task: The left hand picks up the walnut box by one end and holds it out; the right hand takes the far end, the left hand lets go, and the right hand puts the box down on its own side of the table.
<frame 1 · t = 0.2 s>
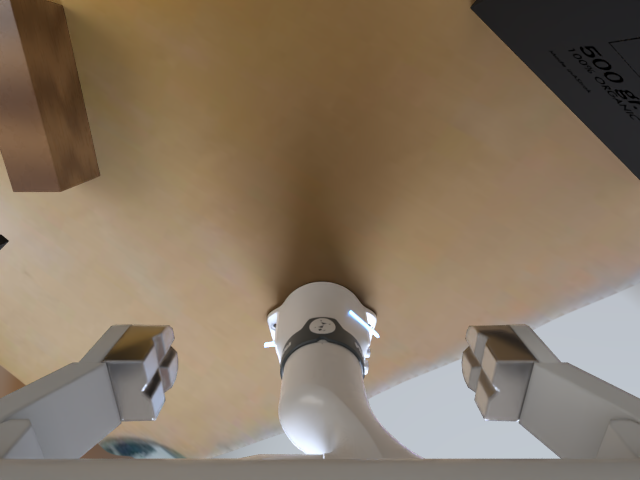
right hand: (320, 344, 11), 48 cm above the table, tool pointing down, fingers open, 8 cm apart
black boxy piece: (625, 39, 50), on the table
box: (61, 97, 53), on the table
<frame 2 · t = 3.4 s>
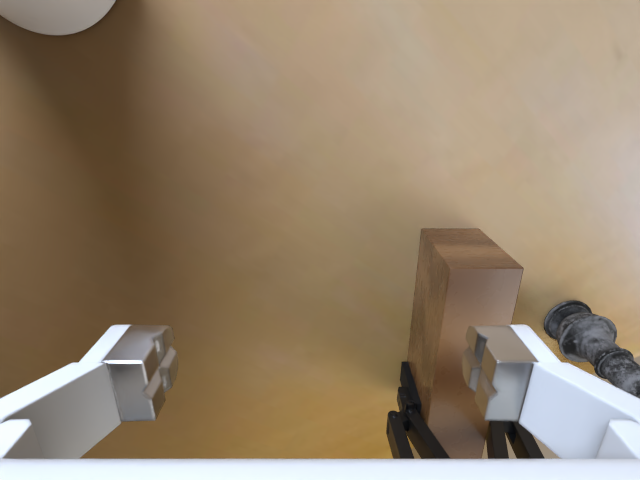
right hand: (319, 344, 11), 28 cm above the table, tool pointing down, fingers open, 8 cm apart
box: (437, 318, 44), on the table, touching left hand
dark grey knobbed piece: (566, 319, 44), on the table
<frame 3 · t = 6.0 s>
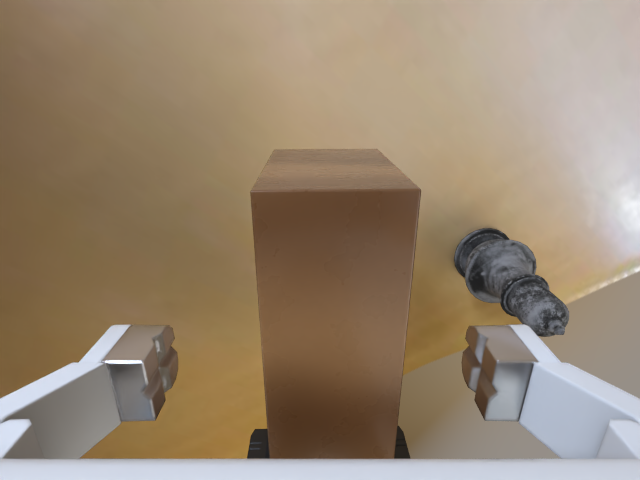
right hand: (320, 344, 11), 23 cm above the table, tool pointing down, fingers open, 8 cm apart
box: (325, 311, 26), point 9 cm above the table, touching left hand
dark grey knobbed piece: (482, 254, 35), on the table
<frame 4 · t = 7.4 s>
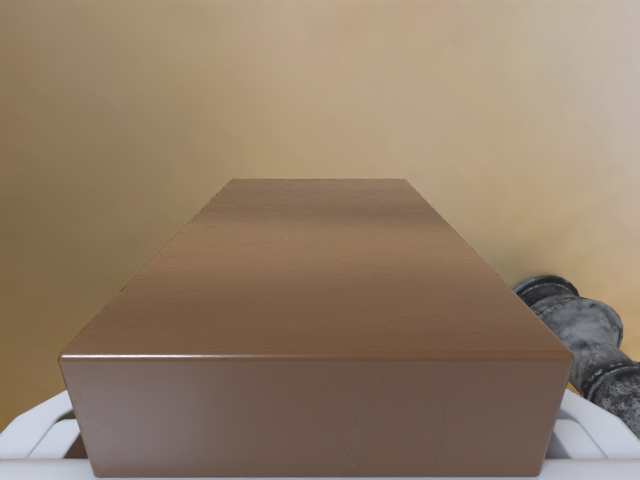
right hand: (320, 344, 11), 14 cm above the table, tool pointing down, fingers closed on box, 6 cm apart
box: (318, 420, 17), point 9 cm above the table, touching right hand, left hand
dark grey knobbed piece: (537, 308, 26), on the table
when the left hand's fingers open (10 cm above the table, at t = 8.5 s): box stays where it is, held by the right hand.
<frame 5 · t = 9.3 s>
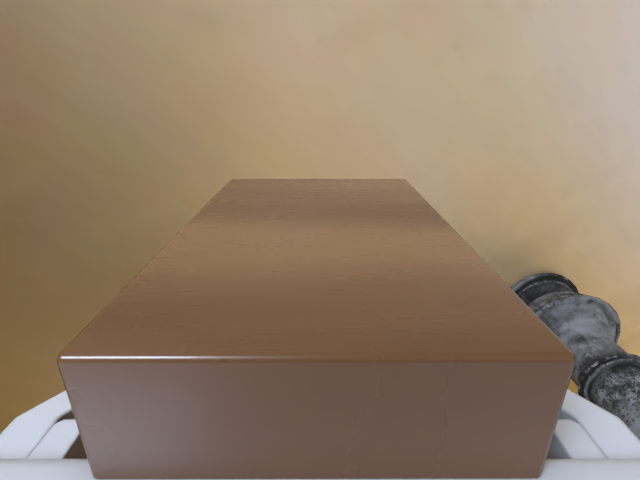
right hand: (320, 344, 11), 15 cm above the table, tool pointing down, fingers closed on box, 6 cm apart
box: (318, 420, 17), point 10 cm above the table, touching right hand
dark grey knobbed piece: (537, 305, 27), on the table
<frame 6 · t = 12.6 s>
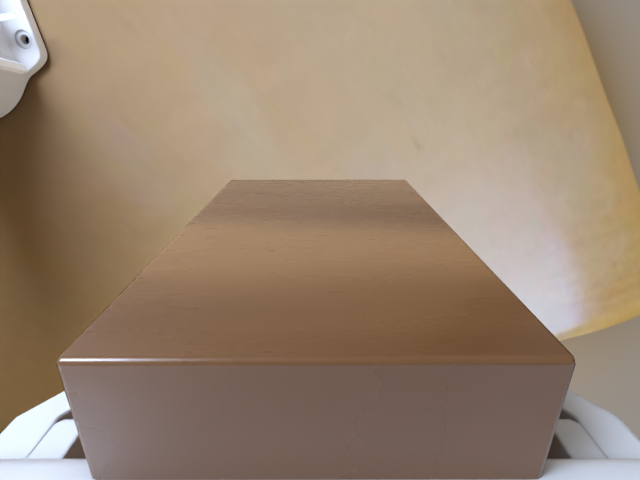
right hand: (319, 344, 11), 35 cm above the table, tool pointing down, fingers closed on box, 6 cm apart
box: (318, 421, 17), point 31 cm above the table, touching right hand
when the right hand's fingers open (6 cm above the table, at t = 17.8 s): box stays where it is, on the table.
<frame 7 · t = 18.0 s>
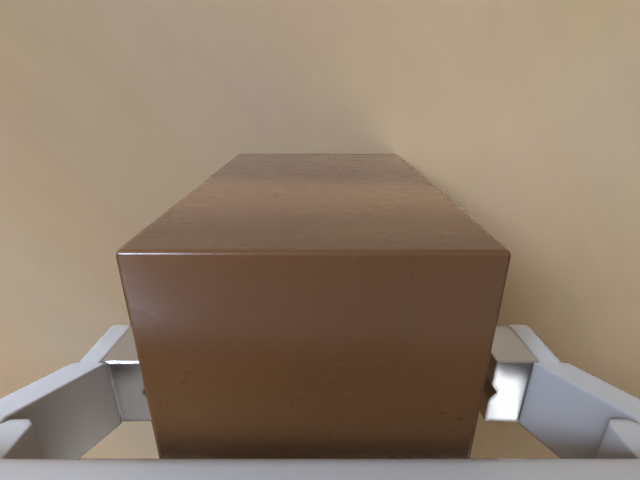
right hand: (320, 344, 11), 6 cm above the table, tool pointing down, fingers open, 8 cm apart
box: (317, 383, 18), on the table
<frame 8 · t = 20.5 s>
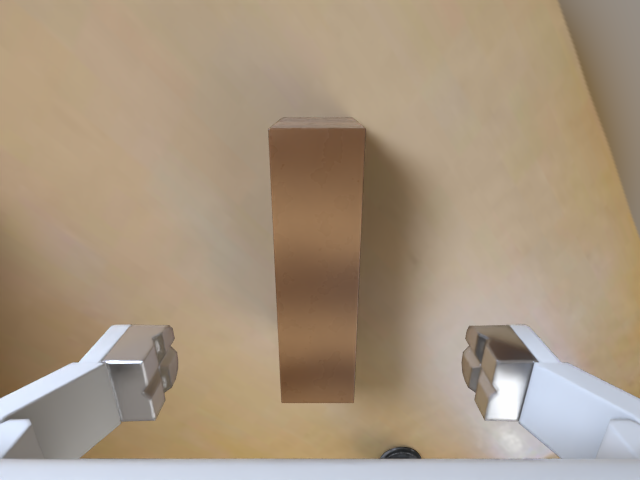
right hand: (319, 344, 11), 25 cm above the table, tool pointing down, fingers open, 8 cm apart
box: (317, 238, 36), on the table
dark grey knobbed piece: (399, 461, 47), on the table
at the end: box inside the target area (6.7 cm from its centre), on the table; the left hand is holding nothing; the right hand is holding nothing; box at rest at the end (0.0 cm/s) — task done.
